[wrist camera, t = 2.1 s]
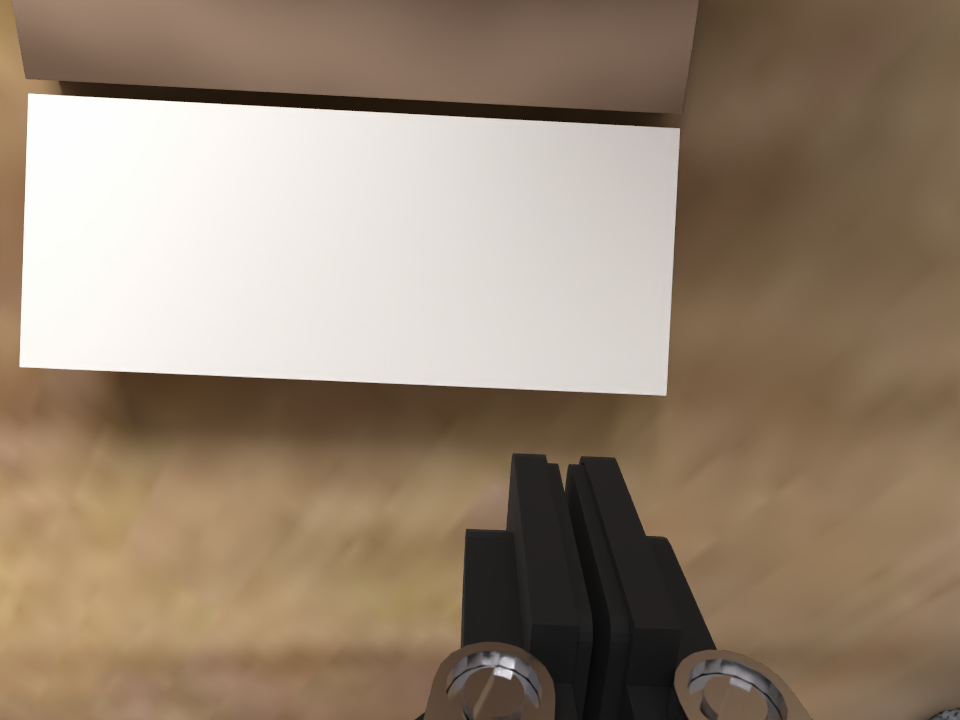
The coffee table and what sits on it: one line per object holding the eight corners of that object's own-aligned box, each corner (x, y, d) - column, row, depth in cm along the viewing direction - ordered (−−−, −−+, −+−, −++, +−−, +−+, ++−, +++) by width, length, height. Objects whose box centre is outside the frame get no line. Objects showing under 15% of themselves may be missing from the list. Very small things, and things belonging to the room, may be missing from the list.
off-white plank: (61, 112, 27) (28, 93, 25) (664, 144, 27) (680, 128, 25) (52, 365, 27) (19, 366, 25) (651, 392, 27) (666, 395, 25)
